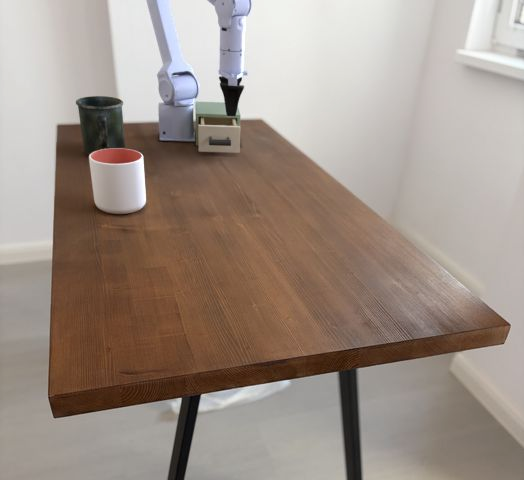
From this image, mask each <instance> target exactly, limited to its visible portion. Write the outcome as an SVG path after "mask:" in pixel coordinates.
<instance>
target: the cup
mask: <svg viewBox="0 0 524 480" xmlns="http://www.w3.org/2000/svg"><path fill="white" fill-rule="evenodd" d="M88 162H89V170H90V177H91V185H92V194H93V200H94V201H93V202H94V204H95V206H96V208H98V209H99V210H101V211H102V212H104V213H108V214H112V215H126V214H131V213H132V214H133V213H135V212H138V211H140V210H142V208H144V207H145V205H146V203H147V192H146V178H145V177H146V176H145V162H144V155H143V154H142V152H139V151H138V150H135V149H130V148H125V149H123V148H110V149H102V150H98V151H95V152H93V153H91V154H90V155H89V156H88Z"/></svg>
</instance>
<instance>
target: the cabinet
mask: <svg viewBox="0 0 524 480" xmlns="http://www.w3.org/2000/svg"><path fill="white" fill-rule="evenodd" d="M194 107H195V108H194V109H195V114H194V115H195V146H197V147H199V142H198V125H201V117H219V118H235V120H236V124H237V126H240V127H241V112H240V109H239V106H238V107H237V112H236V116H227V114H226V108H225V102H219V101H196V100H195V103H194Z"/></svg>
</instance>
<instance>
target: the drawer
mask: <svg viewBox="0 0 524 480" xmlns="http://www.w3.org/2000/svg"><path fill="white" fill-rule="evenodd" d="M223 125H225V126H223ZM198 142H199V146H198V152H199V153H229V154H231V153H232V154H240V151H241V149H240V148H241V125H240V126H237V124H236V120H235V118H219V117H201V125H198Z"/></svg>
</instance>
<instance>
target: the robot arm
mask: <svg viewBox="0 0 524 480" xmlns="http://www.w3.org/2000/svg"><path fill="white" fill-rule="evenodd" d="M145 1H146V4H147V8H148V13H149V16H150V21H151V23H152V28H153V31H154V35H155V39H156V43H157V47H158V50H159V54H160V59H161V62H162V66H161V68H160V69H159V70H158V72H157V74H156V77H157V81H158V86H157V87H158V95H159V97H160V98H161V100H162V102H158V105H157V107H158V108H157V109H158V111H157V112H158V125H157V127H158V133H159V141H161V142H191V143H196V131H194V104H195V101H196V99H197V98H199V96H200V88H201V87H200V82H199V80H198V77H196V75H195V73H194V69H193V68H194V67H192V66H191V65H190V64H189V63H188V62H187V61H185V60H184V56H183V52H182V48H181V45H180V40H179V35H178V32H177V28H176V24H175V20H174V16H173V12H172V8H171V4H170V0H145ZM207 2H208V3H209V4H210V5H212V6H214V10H215V13H216V15H217V24H218V26H219V66H218V75H220V76H219V77H218V79H219V87H220V89H221V92H222V95H223V101H224V103H225V108H226V114H227V116H236V112H237V107H238V108H239V102H240V98H241V95H242V93H243V91H244V89H245V85H243V84H241V83H242V80H243V77H244V76H249V71H248V70H245V69H244V68H245V67H244V66H245V41H246V40H245V39H246V18H247V17H248V16H249V15H250V13H251V9H252V0H207Z"/></svg>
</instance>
